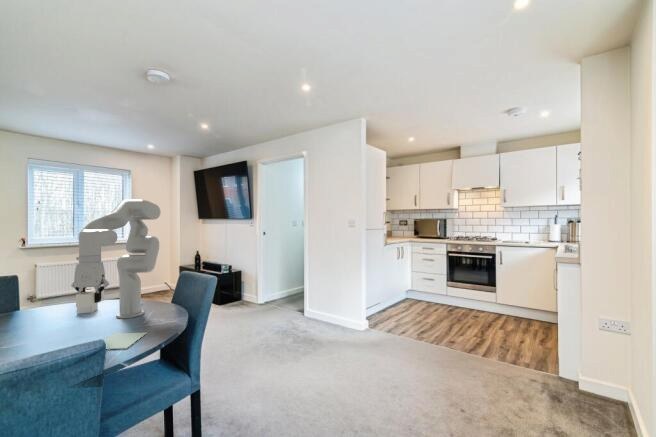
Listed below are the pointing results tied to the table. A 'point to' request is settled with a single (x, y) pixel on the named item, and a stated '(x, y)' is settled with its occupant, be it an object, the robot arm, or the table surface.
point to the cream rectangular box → (87, 298)
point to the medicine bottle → (87, 308)
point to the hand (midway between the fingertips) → (90, 301)
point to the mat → (122, 340)
